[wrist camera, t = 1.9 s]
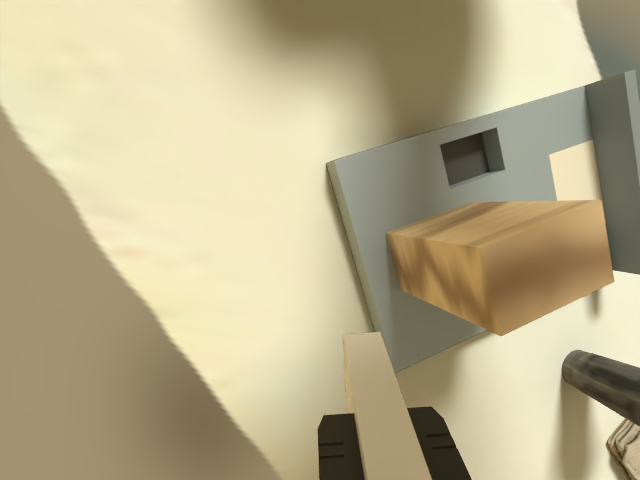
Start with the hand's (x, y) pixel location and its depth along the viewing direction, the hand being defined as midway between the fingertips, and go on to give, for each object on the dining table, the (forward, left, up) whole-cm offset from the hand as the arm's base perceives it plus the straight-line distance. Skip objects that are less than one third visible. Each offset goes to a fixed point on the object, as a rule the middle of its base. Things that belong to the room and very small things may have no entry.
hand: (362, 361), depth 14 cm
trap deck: (+2, +24, -20) cm, 31 cm away
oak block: (+2, +16, -18) cm, 24 cm away
